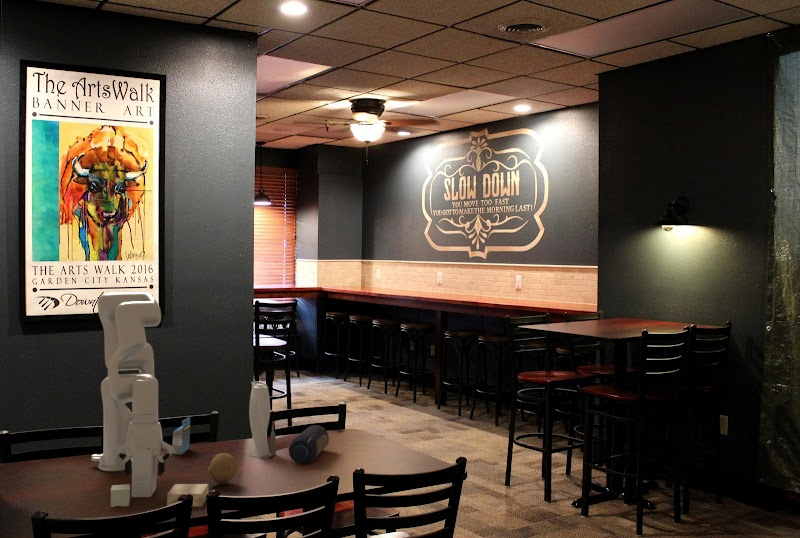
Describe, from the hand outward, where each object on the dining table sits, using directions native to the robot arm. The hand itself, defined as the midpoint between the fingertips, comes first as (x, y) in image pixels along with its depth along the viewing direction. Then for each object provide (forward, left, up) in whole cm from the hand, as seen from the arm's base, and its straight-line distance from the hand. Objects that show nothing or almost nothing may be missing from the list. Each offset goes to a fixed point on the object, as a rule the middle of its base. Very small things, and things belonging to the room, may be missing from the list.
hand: (144, 474), depth 240 cm
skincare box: (0, 0, -6) cm, 6 cm away
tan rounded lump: (+22, +10, -6) cm, 25 cm away
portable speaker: (+46, +45, -6) cm, 65 cm away
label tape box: (-2, +52, -6) cm, 53 cm away
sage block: (-4, -10, -6) cm, 12 cm away
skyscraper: (+28, +47, -6) cm, 55 cm away
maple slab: (+15, -7, -6) cm, 17 cm away
